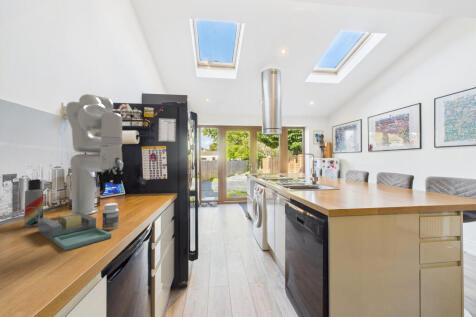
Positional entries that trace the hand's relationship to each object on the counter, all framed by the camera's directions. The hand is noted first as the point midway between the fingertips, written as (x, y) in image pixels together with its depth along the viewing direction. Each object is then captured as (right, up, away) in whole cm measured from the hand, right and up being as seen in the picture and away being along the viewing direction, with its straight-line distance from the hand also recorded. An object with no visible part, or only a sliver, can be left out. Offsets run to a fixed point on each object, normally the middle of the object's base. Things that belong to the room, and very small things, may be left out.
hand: (111, 183), depth 83 cm
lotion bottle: (-36, -19, +4) cm, 41 cm away
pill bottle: (0, -19, 0) cm, 19 cm away
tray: (-2, -18, -13) cm, 22 cm away
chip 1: (-15, -16, -4) cm, 22 cm away
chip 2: (-11, -15, -7) cm, 20 cm away
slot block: (-15, -19, -4) cm, 24 cm away
